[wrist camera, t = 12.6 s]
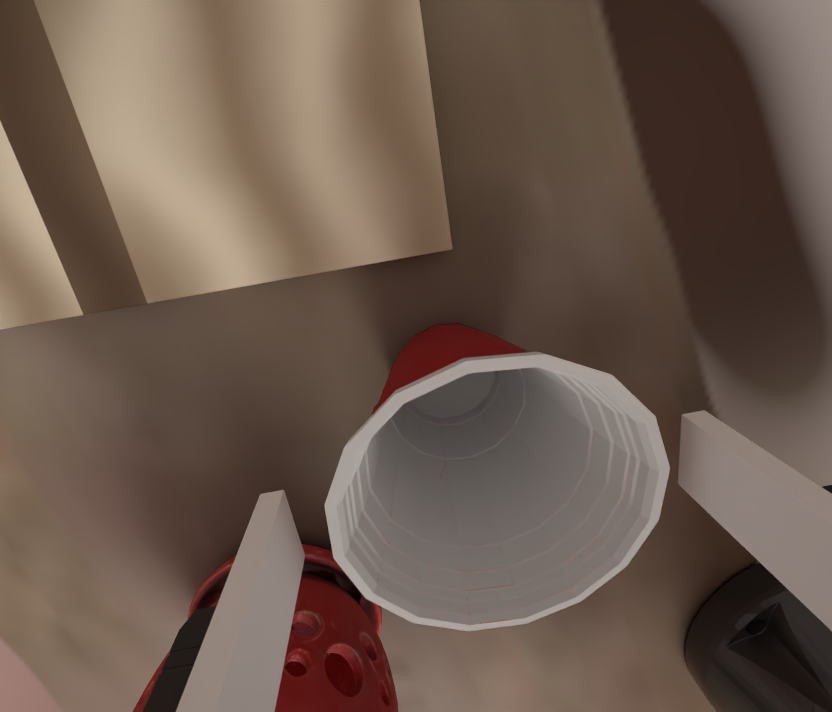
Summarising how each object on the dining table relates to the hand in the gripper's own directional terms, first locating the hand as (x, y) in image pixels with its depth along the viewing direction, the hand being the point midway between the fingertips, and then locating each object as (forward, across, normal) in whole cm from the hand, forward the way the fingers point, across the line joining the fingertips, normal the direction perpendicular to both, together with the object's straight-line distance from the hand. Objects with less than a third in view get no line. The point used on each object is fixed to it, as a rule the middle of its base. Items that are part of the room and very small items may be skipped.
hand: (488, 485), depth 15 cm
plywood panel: (+11, +10, -16) cm, 22 cm away
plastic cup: (+11, 0, +1) cm, 11 cm away
